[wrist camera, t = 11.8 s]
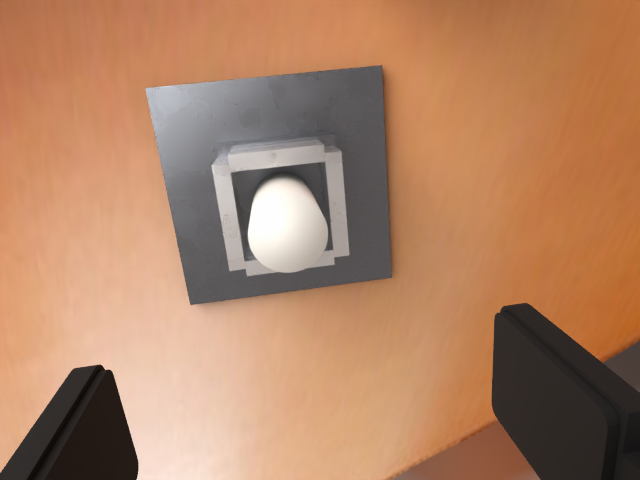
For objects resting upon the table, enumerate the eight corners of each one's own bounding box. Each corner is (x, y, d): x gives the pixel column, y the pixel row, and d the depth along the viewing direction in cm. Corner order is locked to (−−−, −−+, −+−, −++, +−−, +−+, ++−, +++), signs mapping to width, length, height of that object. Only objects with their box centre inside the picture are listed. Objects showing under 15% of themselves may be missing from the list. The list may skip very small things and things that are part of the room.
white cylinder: (308, 168, 30) (323, 190, 22) (316, 226, 31) (332, 266, 23) (248, 176, 29) (241, 201, 22) (257, 234, 30) (254, 278, 23)
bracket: (378, 66, 32) (408, 59, 25) (388, 272, 37) (415, 311, 30) (148, 88, 31) (117, 86, 24) (192, 299, 36) (176, 346, 29)
